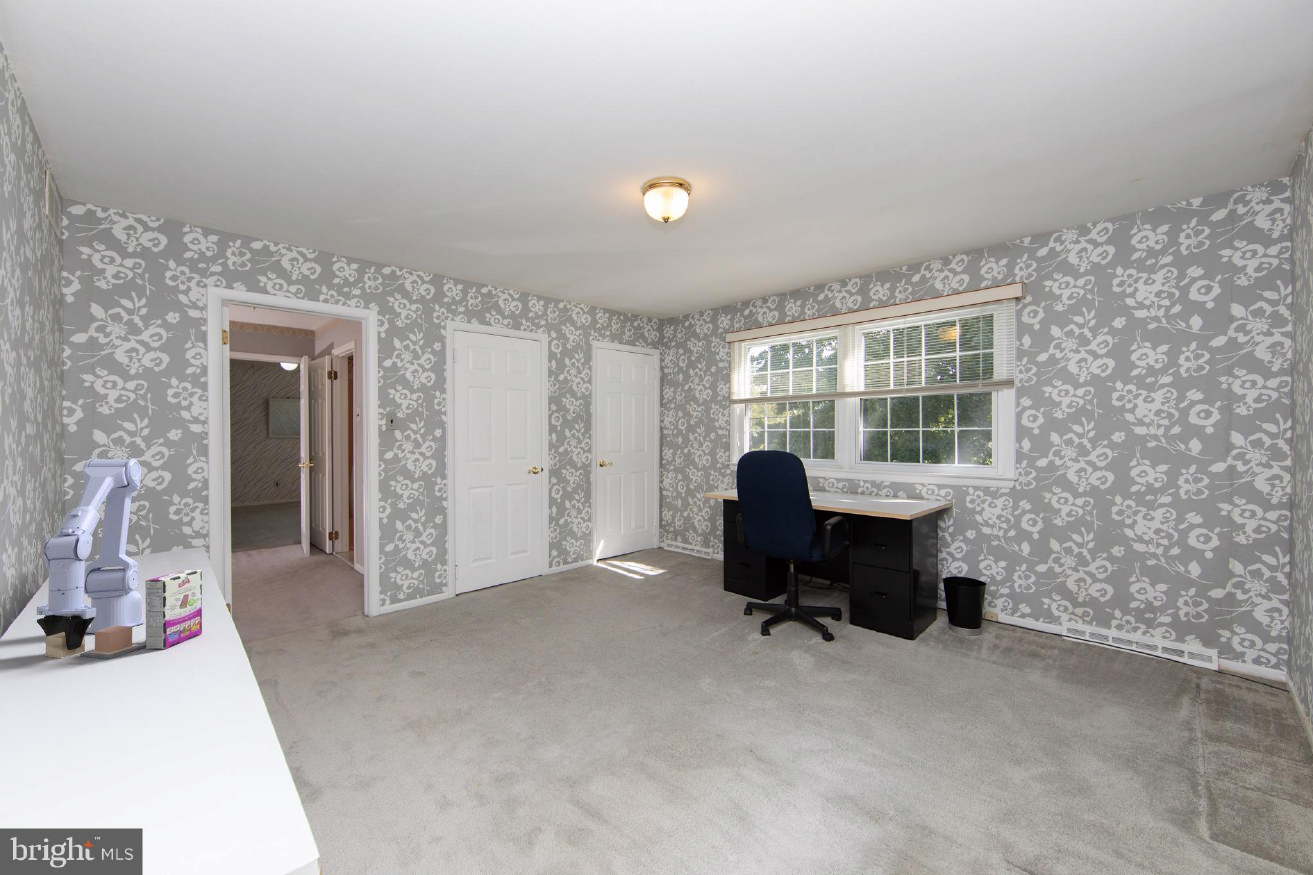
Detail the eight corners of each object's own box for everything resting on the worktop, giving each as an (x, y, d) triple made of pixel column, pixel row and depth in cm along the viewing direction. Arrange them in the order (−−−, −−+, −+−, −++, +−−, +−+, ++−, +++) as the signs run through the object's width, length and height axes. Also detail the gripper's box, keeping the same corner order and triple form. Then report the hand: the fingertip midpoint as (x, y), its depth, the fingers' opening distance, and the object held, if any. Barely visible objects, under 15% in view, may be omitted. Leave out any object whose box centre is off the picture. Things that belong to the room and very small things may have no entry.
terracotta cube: (116, 644, 135) (117, 625, 135) (132, 645, 134) (132, 626, 134) (94, 651, 131) (95, 631, 131) (110, 652, 130) (110, 632, 130)
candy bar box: (183, 634, 145) (184, 569, 145) (202, 634, 145) (203, 569, 145) (143, 649, 134) (144, 579, 134) (164, 650, 134) (165, 579, 134)
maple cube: (69, 649, 133) (69, 630, 133) (84, 651, 132) (85, 631, 133) (45, 656, 129) (46, 636, 129) (61, 658, 128) (61, 638, 128)
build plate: (119, 644, 137) (119, 641, 137) (146, 646, 136) (146, 643, 136) (79, 656, 129) (80, 653, 129) (107, 659, 128) (108, 655, 128)
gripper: (20, 590, 128) (18, 651, 128) (70, 594, 126) (69, 656, 125) (58, 583, 135) (57, 640, 135) (106, 586, 132) (105, 645, 132)
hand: (65, 647), depth 131 cm, fingers closed on maple cube, 4 cm apart
